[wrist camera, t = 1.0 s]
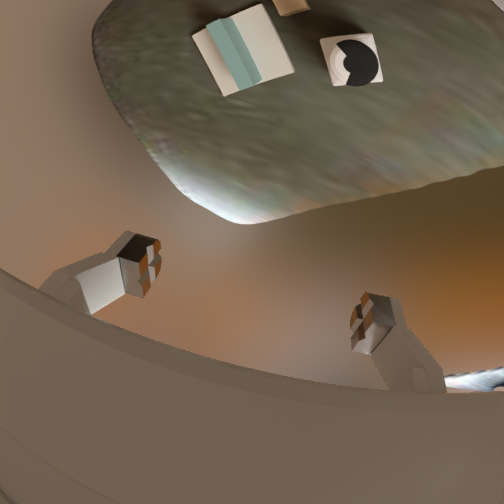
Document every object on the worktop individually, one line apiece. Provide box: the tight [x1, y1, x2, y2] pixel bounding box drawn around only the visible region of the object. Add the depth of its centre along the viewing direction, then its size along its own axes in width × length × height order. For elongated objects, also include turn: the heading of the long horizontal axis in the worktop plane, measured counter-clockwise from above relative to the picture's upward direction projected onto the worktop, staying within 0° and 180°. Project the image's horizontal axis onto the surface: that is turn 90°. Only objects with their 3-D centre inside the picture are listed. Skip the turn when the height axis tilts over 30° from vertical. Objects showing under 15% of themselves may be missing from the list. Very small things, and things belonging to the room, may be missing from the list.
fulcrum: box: [192, 4, 295, 96], centre depth 34 cm, size 13×13×6 cm
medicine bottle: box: [320, 33, 383, 86], centre depth 28 cm, size 7×7×12 cm
